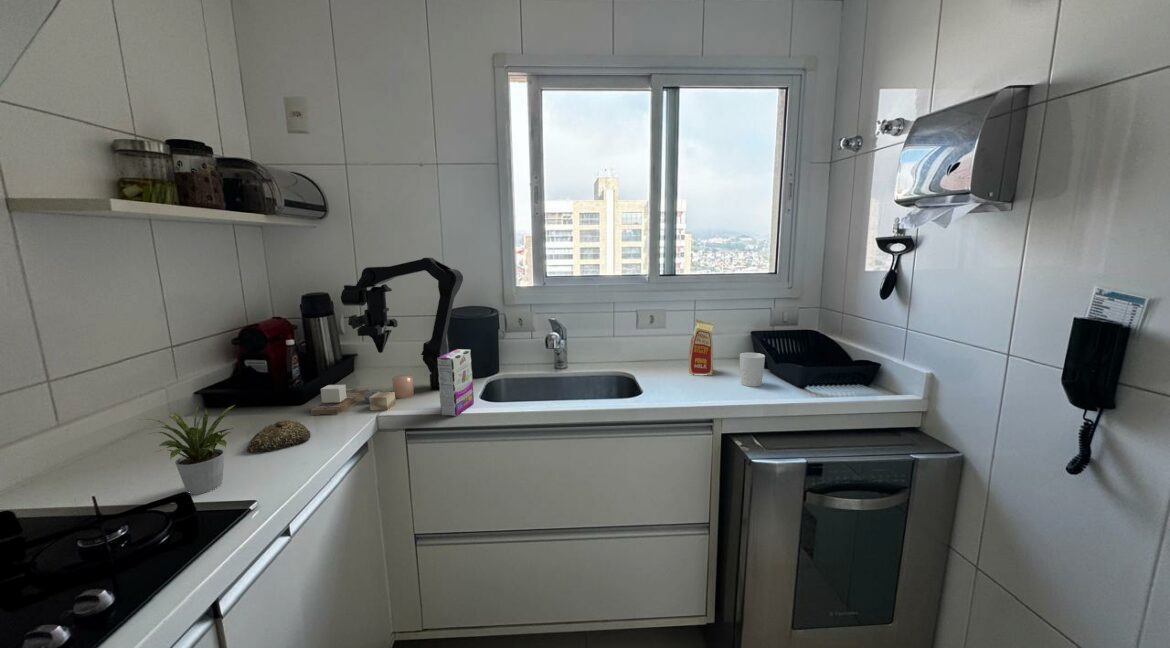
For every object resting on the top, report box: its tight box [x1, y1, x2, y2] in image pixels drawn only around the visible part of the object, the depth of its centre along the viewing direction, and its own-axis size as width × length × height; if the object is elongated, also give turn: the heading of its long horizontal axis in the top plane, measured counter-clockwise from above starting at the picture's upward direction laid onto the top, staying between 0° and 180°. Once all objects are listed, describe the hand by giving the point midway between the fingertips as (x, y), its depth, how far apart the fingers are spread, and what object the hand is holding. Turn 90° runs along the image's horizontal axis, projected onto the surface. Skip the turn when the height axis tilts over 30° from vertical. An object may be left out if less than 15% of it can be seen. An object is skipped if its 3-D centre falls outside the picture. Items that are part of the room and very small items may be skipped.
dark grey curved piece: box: [364, 389, 384, 404], centre depth 135 cm, size 5×5×3 cm
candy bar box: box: [437, 348, 475, 417], centre depth 126 cm, size 11×5×16 cm, turn 168°
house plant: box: [138, 403, 236, 495], centre depth 83 cm, size 14×14×16 cm
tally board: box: [310, 387, 369, 416], centre depth 133 cm, size 20×7×2 cm, turn 3°
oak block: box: [369, 391, 397, 411], centre depth 129 cm, size 5×5×4 cm
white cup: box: [739, 351, 766, 388], centre depth 149 cm, size 8×8×10 cm
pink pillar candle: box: [391, 374, 415, 399], centre depth 140 cm, size 6×6×6 cm
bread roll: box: [246, 419, 311, 454], centre depth 106 cm, size 13×12×5 cm
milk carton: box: [688, 318, 716, 376], centre depth 164 cm, size 9×9×20 cm
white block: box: [320, 384, 347, 403], centre depth 129 cm, size 4×5×4 cm
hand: (380, 352), depth 148 cm, fingers closed
